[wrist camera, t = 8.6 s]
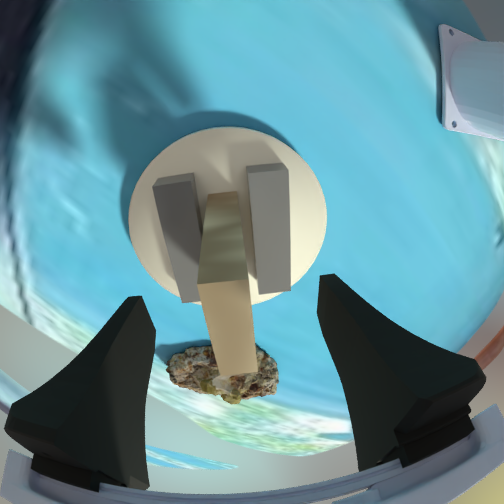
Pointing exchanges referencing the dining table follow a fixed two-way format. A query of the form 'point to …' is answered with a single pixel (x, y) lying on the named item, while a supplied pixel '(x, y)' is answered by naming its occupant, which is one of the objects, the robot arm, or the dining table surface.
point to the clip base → (250, 206)
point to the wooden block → (226, 286)
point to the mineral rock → (228, 386)
